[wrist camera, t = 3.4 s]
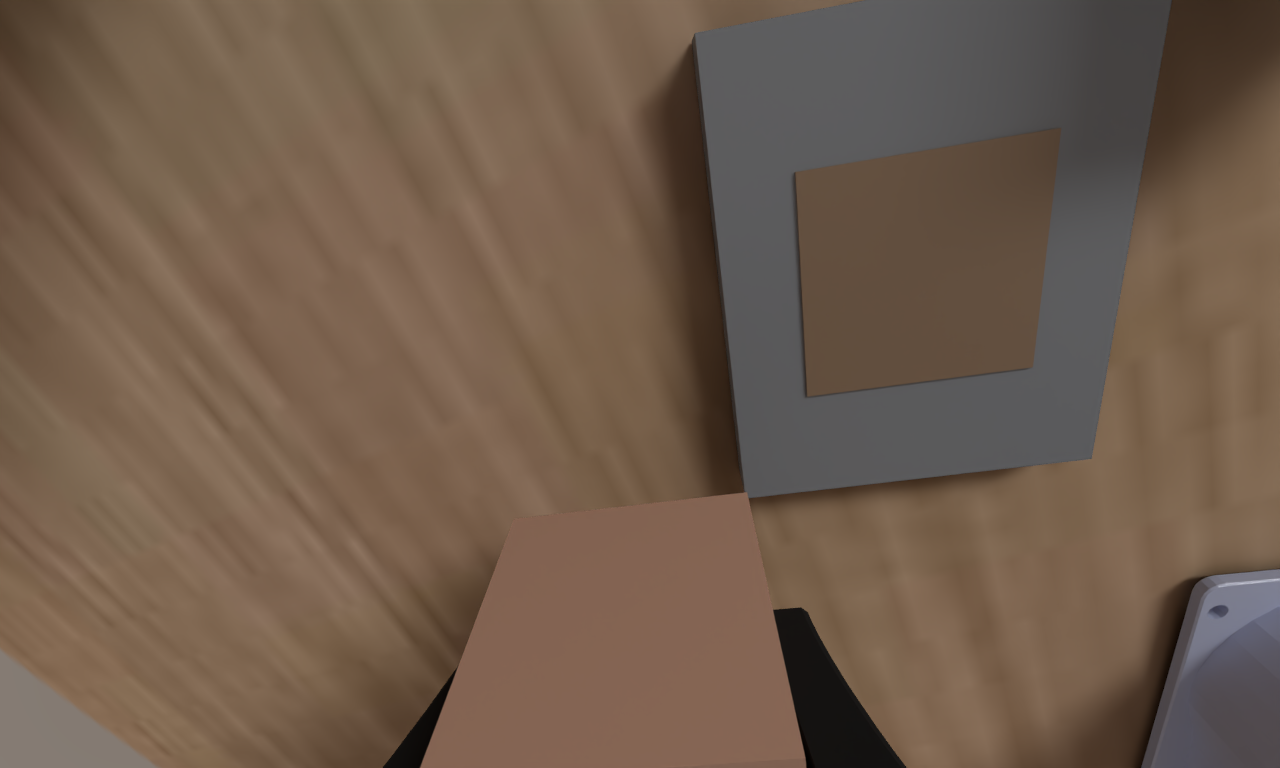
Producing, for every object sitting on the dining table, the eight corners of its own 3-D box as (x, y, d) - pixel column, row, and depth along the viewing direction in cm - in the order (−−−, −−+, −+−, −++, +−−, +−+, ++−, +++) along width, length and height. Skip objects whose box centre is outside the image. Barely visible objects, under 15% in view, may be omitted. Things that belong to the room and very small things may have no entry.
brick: (766, 664, 13) (821, 967, 8) (564, 681, 13) (510, 977, 9) (746, 492, 11) (805, 758, 6) (514, 519, 11) (413, 784, 7)
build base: (1060, 433, 15) (1093, 460, 14) (739, 471, 16) (745, 499, 14) (1128, -43, 11) (1185, -62, 10) (691, 40, 12) (695, 33, 10)
